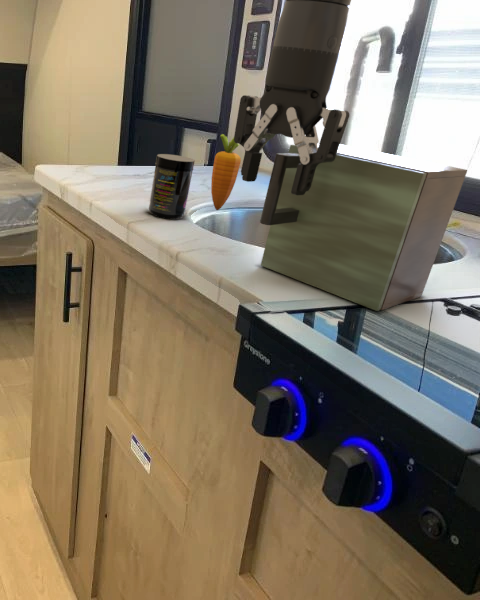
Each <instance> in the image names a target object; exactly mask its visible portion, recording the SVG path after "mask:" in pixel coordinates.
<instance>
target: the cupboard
mask: <svg viewBox="0 0 480 600" xmlns="http://www.w3.org/2000/svg"><path fill="white" fill-rule="evenodd" d="M317 145H318V146H319V143H318V144H317ZM337 154H340V155H344V156H349V157H354V158H358V159H363V160H368V161H372V162H377V163H382V164H386V165H391V166H396V167H400V168H405V169H410V170H414V171H419V172H424V173H427V175H426V178H425V180H424V183H423V186H422V189H421V192H420V195H419V198H418V201H417V204H416V207H415V210H414V213H413V216H412V219H411V222H410V225H409V228H408V231H407V233H406V236H405V239H404V242H403V245H402V248H401V251H400V254H399V257H398V260H397V263H396V266H395V269H394V272H393V275H392V278H391V281H390V284H389V286H388V289H387V292H386V295H385V298H384V301H383V304H382V307H381V310H380V311H384V310H387V309H389V308H393V307H395V306H398V305H401V304H404V303H406V302H409V301H412V300H415V299H419V298H421V297H422V296H423V293H424V290H425V288H426V285H427V283H428V279H429V277H430V275H431V271H432V269H433V266H434V263H435V260H436V258H437V255H438V253H439V250H440V247H441V244H442V241H443V239H444V236H445V233H446V230H447V228H448V224H449V222H450V219H451V217H452V214H453V211H454V208H455V207H456V203H457V200H458V199H459V198H458V197H459V195H460V192H461V189H462V187H463V185H464V181H465V179H466V175H467V173H468V169H465V168H460V167H454V166H451V165H444V164H440V163H437V162H436V163H435V162H430V161H426V160H420V159H417V158H416V159H415V158H410V157H405V156H400V155H396V154H390V153H386V152H380V151H375V150H370V149H366V148H360V147H356V146H350V145H346V144H341V143H340V145H339V148H338V151H337Z"/></svg>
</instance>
